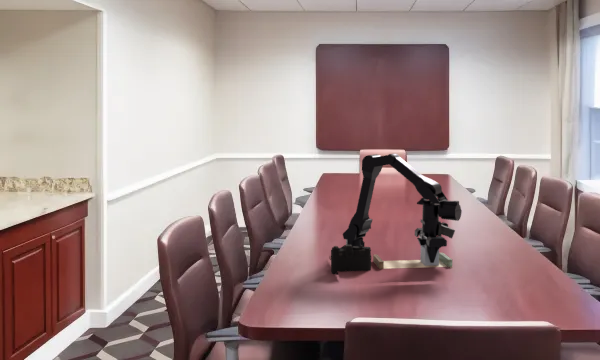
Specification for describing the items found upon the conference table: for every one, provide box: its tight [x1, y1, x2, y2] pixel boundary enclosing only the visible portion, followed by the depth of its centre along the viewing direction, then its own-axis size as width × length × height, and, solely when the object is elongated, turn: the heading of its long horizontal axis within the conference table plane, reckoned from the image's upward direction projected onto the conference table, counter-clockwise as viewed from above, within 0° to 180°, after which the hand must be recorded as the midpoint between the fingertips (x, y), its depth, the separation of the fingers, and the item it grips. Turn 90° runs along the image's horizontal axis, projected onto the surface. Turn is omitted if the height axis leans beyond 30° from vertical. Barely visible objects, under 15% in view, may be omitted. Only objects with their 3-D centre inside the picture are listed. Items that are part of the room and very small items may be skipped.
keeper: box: [419, 245, 440, 266], centre depth 199 cm, size 5×6×7 cm
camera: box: [330, 244, 372, 275], centre depth 195 cm, size 14×11×10 cm
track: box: [372, 252, 453, 270], centre depth 199 cm, size 26×10×4 cm, turn 95°
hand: (429, 260), depth 199 cm, fingers closed on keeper, 5 cm apart
